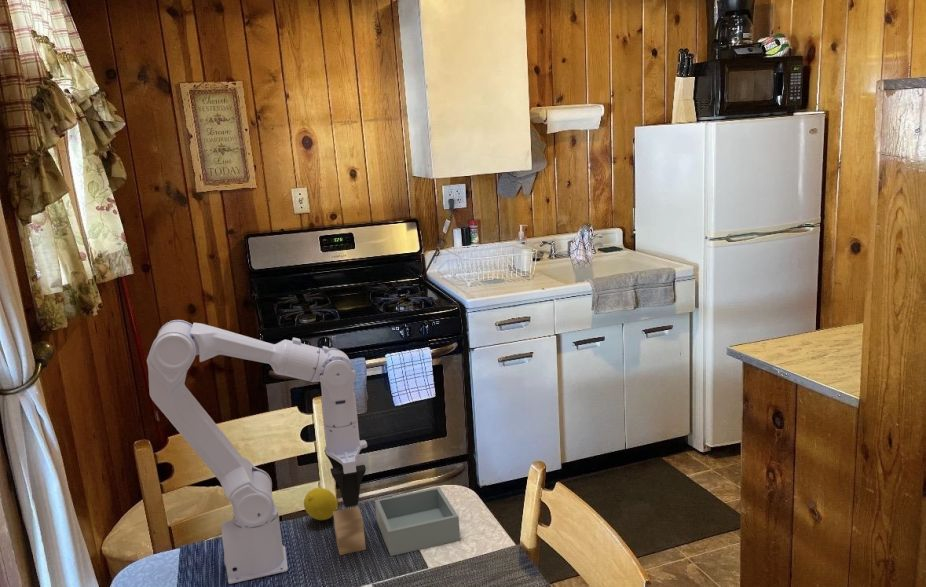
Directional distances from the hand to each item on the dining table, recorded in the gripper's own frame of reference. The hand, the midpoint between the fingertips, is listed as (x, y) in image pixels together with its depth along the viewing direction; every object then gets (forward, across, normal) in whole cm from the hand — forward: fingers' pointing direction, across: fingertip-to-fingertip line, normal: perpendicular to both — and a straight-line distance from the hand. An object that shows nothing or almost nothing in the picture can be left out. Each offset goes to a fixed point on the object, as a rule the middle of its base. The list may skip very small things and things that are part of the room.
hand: (348, 495), depth 122 cm
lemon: (+8, +12, +2) cm, 15 cm away
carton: (+9, 0, 0) cm, 9 cm away
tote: (+9, 0, -12) cm, 15 cm away
